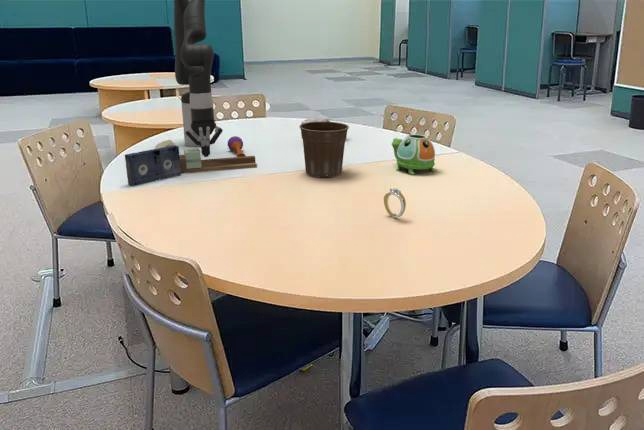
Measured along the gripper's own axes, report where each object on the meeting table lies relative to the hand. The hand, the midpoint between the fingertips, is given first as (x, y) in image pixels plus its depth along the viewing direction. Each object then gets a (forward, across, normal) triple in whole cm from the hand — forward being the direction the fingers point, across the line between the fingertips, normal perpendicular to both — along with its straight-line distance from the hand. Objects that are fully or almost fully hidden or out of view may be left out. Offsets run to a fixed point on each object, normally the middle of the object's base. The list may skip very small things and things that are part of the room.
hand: (206, 156), depth 205 cm
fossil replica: (+5, +13, -12) cm, 18 cm away
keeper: (+3, +5, 0) cm, 6 cm away
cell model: (+6, -52, -28) cm, 59 cm away
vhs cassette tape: (+5, +18, +8) cm, 20 cm away
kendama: (+5, -14, -16) cm, 22 cm away
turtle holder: (+6, -67, +23) cm, 71 cm away
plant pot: (+5, -37, +18) cm, 41 cm away
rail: (+5, -4, 0) cm, 6 cm away
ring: (+5, -40, +66) cm, 78 cm away
